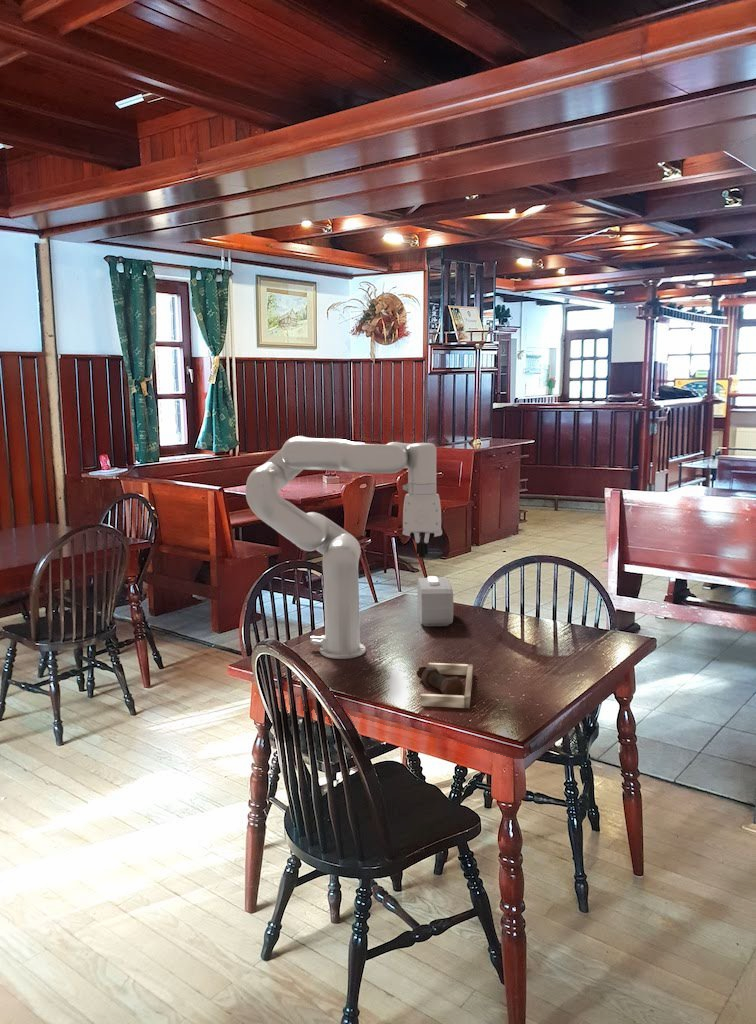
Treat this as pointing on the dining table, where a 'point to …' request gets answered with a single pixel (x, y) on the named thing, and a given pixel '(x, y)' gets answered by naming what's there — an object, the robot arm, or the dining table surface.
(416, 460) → the robot arm
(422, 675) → the bolt
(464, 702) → the dock
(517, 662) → the dining table surface
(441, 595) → the grey rounded box
